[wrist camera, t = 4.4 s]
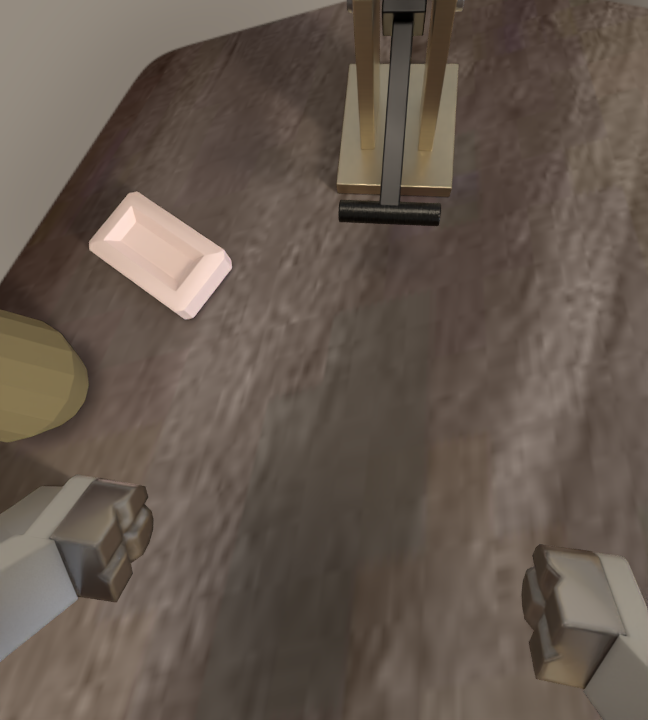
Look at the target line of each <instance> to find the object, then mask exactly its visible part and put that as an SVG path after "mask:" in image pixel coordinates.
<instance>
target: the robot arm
mask: <svg viewBox="0 0 648 720" xmlns="http://www.w3.org/2000/svg"><path fill="white" fill-rule="evenodd" d="M147 499H148V494H147V491H146V487H145V486H141V485H136V484H130V483H125V482H119V481H113V480H108V479H102V478H96V477H90V476H84V475H75V476H74V477H72V478H70V479H69V480H68V481H67V482H66V484H65V485H64V486H63V487H62V488H61V490H60V491H59V492H58V493H57V494H56V496H55V497H54V498H53V499H52V501H51V502H50V503H49V504H48V505H47V507H46V508H45V509H44V510H43V511H42V513H41V514H40V515H39V516H38V517H37V519H36V520H35V521H34V522H33V524H32V525H31V526H30V527H29V528H28V530H27V531H26V532H25V533H24V534H23V535H22V534H15V535H14V536H12V537H10V538H8V539H6V540H4V541H3V542H1V543H0V661H2V660H3V659H4V658H5V657H7V656H8V655H9V654H10V653H12V652H13V651H14V650H15V649H16V648H18V647H19V646H20V645H21V644H23V643H24V642H25V641H26V640H28V639H29V638H30V637H31V636H33V635H34V634H35V633H36V632H38V631H39V630H40V629H41V628H43V627H44V626H45V625H46V624H48V623H49V622H50V621H51V620H53V619H54V618H55V617H56V616H58V615H59V614H60V613H61V612H63V611H64V610H65V609H66V608H68V607H69V606H70V605H71V604H73V603H74V602H75V601H76V600H78V597H84V598H90V599H97V600H104V601H110V602H117V601H118V599H119V597H120V596H121V594H122V592H123V590H124V588H125V587H126V585H127V583H128V581H129V579H130V578H131V576H132V574H133V572H132V566H131V563H132V562H133V561H135V560H136V559H138V558H139V557H141V556H142V555H143V554H144V552H145V550H146V548H147V546H148V544H149V542H150V539H151V535H152V532H153V515H152V511H151V510H150V509H149V508H148V507H147V506H146V505H145V502H146V500H147ZM532 556H533V561H534V566H533V567H531V568H529V569H528V570H527V571H526V573H525V576H524V579H523V585H522V607H523V613H524V619H525V620H526V622H527V623H528V624H529V625H530V627H531V628H532V629H533V630H534V632H533V634H532V636H531V639H530V641H529V646H530V651H531V657H532V662H533V667H534V672H535V677H536V679H539V680H544V681H548V682H553V683H558V684H563V685H568V686H572V687H577V688H582V689H585V690H584V693H585V694H586V696H587V697H588V699H589V700H590V702H591V703H592V704H593V706H594V707H595V709H596V710H597V712H598V713H599V715H600V716H601V717H602V719H603V720H648V609H647V607H646V604H645V602H644V599H643V597H642V595H641V592H640V590H639V587H638V585H637V583H636V580H635V578H634V575H633V573H632V571H631V568H630V566H629V563H628V561H627V560H626V559H625V558H624V557H623V556H617V555H610V554H603V553H597V552H592V551H586V550H579V549H572V548H564V547H557V546H550V545H542V544H539V545H538V546H537V547H536V548H535V551H534V553H533V555H532Z"/></svg>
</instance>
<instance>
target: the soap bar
mask: <svg viewBox="0 0 648 720" xmlns="http://www.w3.org/2000/svg"><path fill="white" fill-rule="evenodd" d="M89 250H90V251H92V252H93V253H94V254H96V255H97V256H98V257H100V258H101V259H102V260H104V261H105V262H106V263H108V264H109V265H111V266H112V267H113V268H115V269H116V270H117V271H119V272H120V273H122V274H123V275H124V276H126V277H127V278H128V279H130V280H131V281H133V282H134V283H135V284H137V285H138V286H139V287H141V288H142V289H144V290H145V291H146V292H148V293H149V294H150V295H152V296H153V297H155V298H156V299H157V300H159V301H160V302H161V303H163V304H164V305H166V306H167V307H168V308H170V309H171V310H172V311H174V312H175V313H177V314H178V315H179V316H181V317H182V318H183V319H190V318H194V317H195V315H196V314H197V313H198V311H199V310H200V309H201V308H202V306H203V305H204V304H205V302H206V301H207V300H208V298H209V297H210V296H211V295H212V293H213V292H214V291H215V289H216V288H217V287H218V286H219V284H220V283H221V282H222V280H223V279H224V278H225V277H226V275H227V274H228V273H229V271H230V270H231V269H232V263H231V259H230V258H229V256H228V255H227V254H226V252H225V251H224V250H223V249H222V248H221V247H219V246H218V245H216V244H215V243H213V242H212V241H210V240H209V239H207V238H206V237H204V236H203V235H201V234H200V233H198V232H197V231H195V230H194V229H192V228H191V227H189V226H188V225H186V224H185V223H183V222H182V221H180V220H179V219H177V218H176V217H174V216H173V215H171V214H170V213H168V212H167V211H165V210H164V209H162V208H161V207H159V206H158V205H156V204H155V203H153V202H152V201H150V200H149V199H148V198H146V197H145V196H143V195H142V194H140V193H139V192H133V193H129V194H128V195H127V196H126V197H125V198H124V200H123V201H122V202H121V203H120V205H119V206H118V207H117V208H116V209H115V211H114V212H113V213H112V214H111V215H110V217H109V218H108V219H107V220H106V222H105V223H104V224H103V225H102V226H101V228H100V229H99V230H98V231H97V233H96V234H95V235H94V236H93V237H92V239H91V240H90V241H89Z"/></svg>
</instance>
